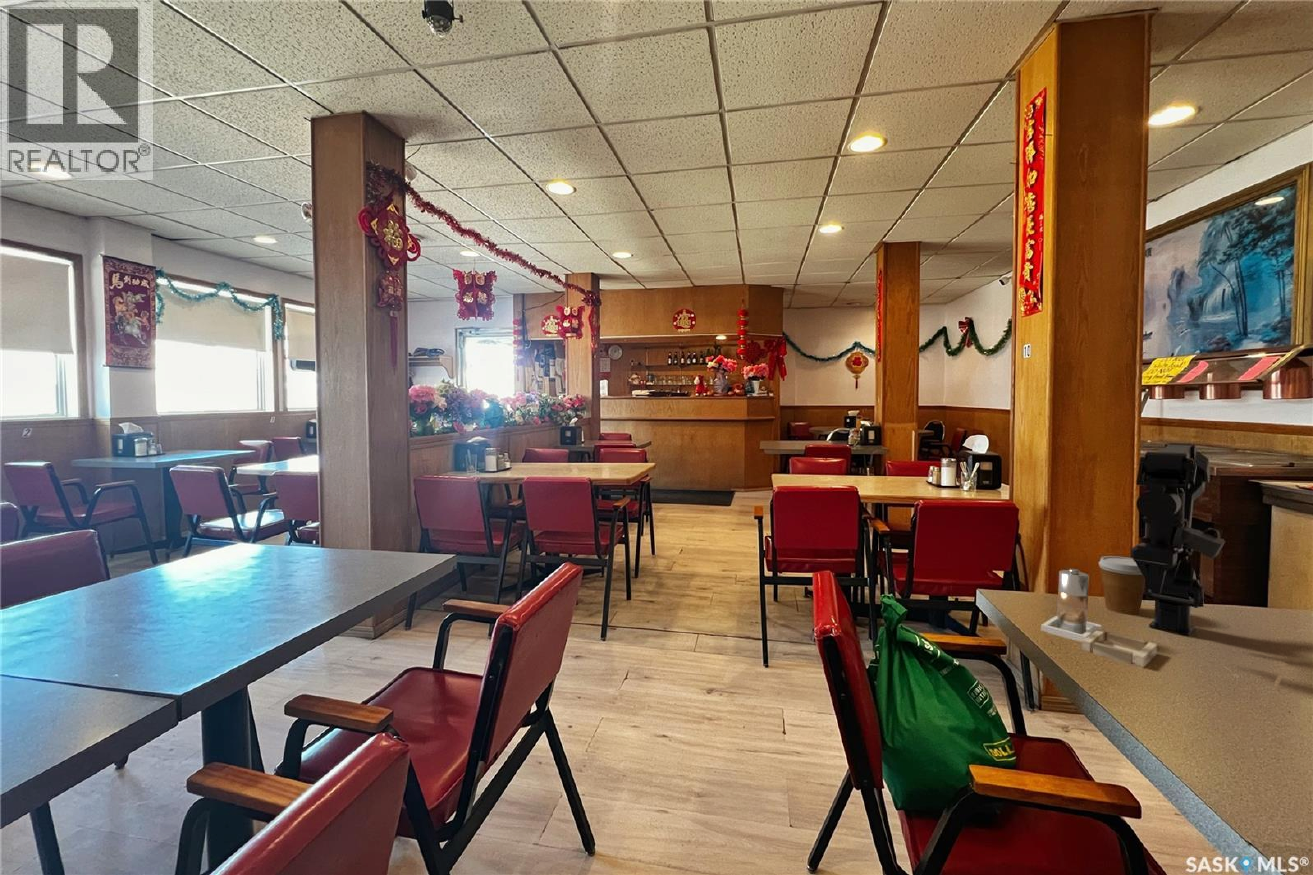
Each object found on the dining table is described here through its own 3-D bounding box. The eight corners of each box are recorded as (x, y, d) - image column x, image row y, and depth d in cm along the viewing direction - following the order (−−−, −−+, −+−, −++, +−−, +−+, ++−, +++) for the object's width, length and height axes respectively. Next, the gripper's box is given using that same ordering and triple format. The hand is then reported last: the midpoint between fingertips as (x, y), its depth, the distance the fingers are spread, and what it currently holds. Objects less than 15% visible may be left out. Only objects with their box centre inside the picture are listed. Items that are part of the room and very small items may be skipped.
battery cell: (1070, 624, 123) (1072, 565, 122) (1092, 634, 118) (1095, 572, 117) (1050, 626, 122) (1053, 567, 121) (1072, 636, 117) (1075, 574, 116)
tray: (1058, 622, 126) (1058, 614, 126) (1101, 633, 119) (1101, 625, 119) (1040, 633, 120) (1041, 625, 120) (1085, 645, 113) (1085, 636, 113)
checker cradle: (1097, 640, 116) (1098, 629, 115) (1156, 656, 108) (1157, 644, 108) (1082, 652, 110) (1082, 640, 110) (1143, 670, 102) (1143, 657, 102)
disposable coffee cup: (1088, 602, 138) (1089, 555, 138) (1130, 603, 137) (1131, 556, 136) (1114, 616, 129) (1115, 566, 128) (1159, 617, 127) (1161, 566, 127)
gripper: (1210, 526, 99) (1207, 611, 100) (1230, 513, 110) (1227, 590, 111) (1131, 517, 108) (1128, 594, 109) (1157, 506, 119) (1155, 577, 120)
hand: (1162, 589), depth 112 cm, fingers open, 9 cm apart
